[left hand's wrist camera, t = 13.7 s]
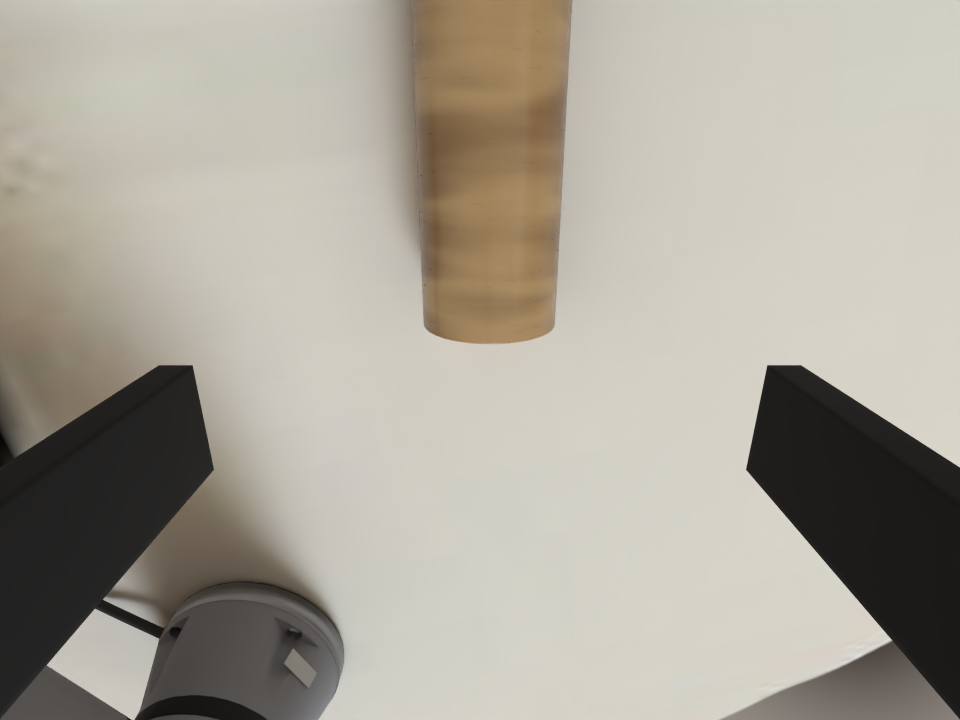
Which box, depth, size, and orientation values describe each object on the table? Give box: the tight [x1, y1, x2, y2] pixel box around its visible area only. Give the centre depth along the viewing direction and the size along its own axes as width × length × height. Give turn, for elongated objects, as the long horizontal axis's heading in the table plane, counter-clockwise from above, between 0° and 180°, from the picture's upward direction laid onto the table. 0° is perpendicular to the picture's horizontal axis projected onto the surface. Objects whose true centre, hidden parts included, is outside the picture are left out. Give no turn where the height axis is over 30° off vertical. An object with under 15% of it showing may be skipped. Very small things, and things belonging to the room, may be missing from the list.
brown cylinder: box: [411, 0, 572, 344], centre depth 27 cm, size 24×8×8 cm, turn 0°
